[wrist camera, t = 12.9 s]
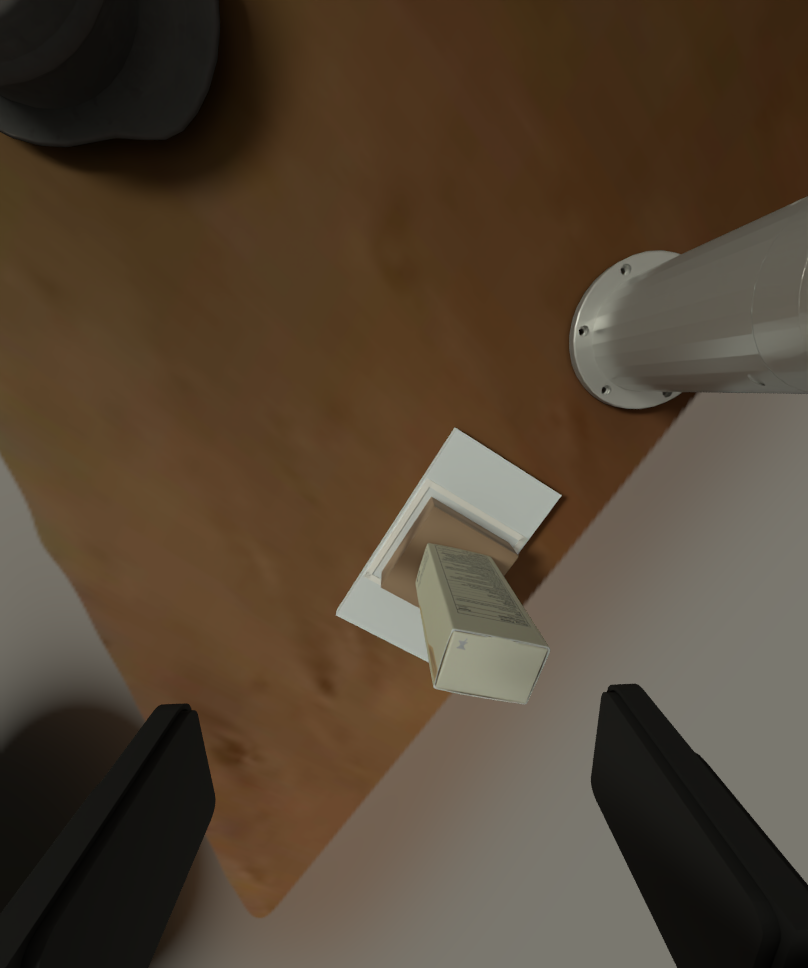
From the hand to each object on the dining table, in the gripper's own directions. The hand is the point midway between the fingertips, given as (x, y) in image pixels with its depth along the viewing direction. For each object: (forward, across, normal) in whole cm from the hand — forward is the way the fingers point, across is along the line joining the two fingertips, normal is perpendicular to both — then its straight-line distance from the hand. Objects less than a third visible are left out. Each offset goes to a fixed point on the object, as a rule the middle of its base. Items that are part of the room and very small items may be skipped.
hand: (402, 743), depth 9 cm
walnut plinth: (+26, -4, +8) cm, 28 cm away
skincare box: (+24, -5, +8) cm, 26 cm away
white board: (+28, -4, +8) cm, 29 cm away
